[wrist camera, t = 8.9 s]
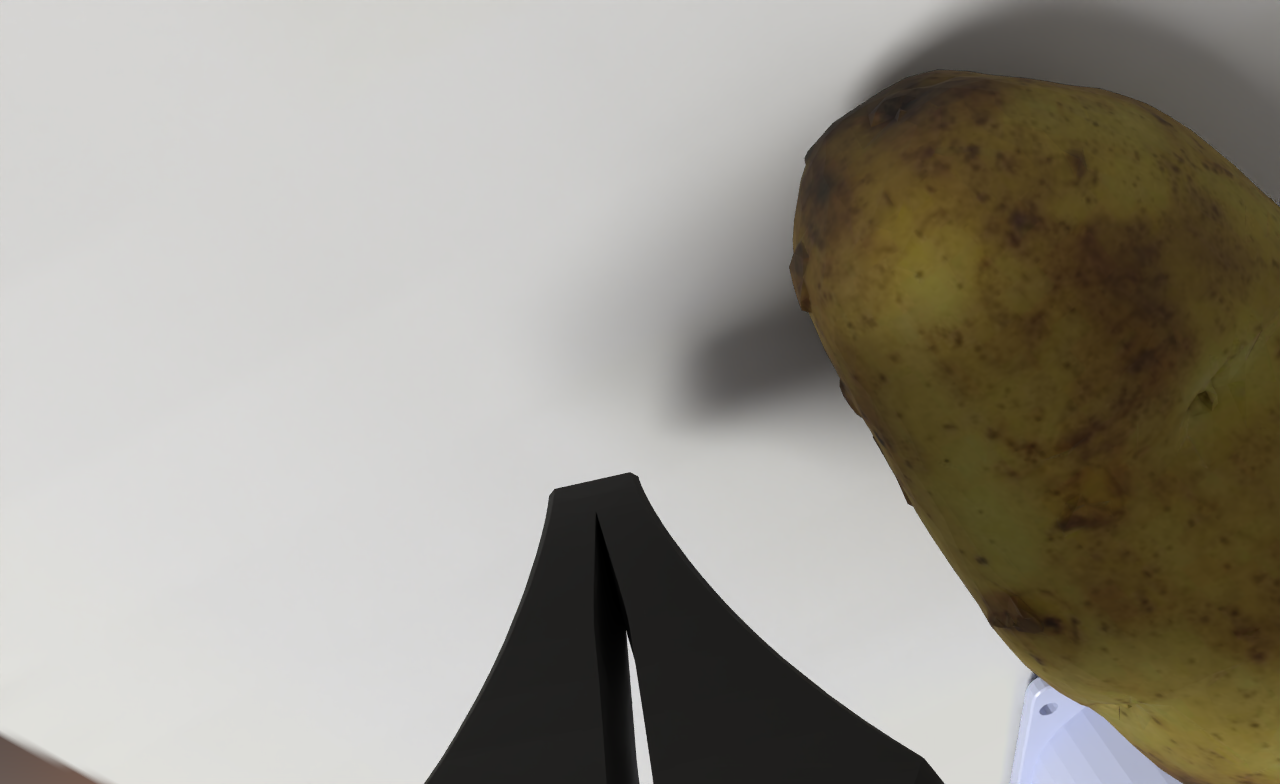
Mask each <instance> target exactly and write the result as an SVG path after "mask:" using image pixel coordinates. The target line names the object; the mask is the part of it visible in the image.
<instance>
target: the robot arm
mask: <svg viewBox="0 0 1280 784" xmlns="http://www.w3.org/2000/svg"><path fill="white" fill-rule="evenodd" d="M626 631H627V635H628V638H629V642H630V645H631V649H632V652H633V656H634V659H635V664H636V670H637V676H638V683H639V689H640V696H641V702H642V709H643V715H644V722H645V728H646V735H647V742H648V749H649V756H650V762H651V769H652V776H653V784H944V782H943V781H942V780H941V779H940V777H939V776H938V775H937V774H936V772H935V771H934V770H933V769H932V767H931V766H930V765H929V764H928V763H927V761H926V760H925V759H924V758H923V757H921V756H920V755H918V754H916V753H915V752H913V751H912V750H910V749H908V748H907V747H905V746H903V745H902V744H900V743H899V742H897V741H895V740H894V739H892V738H891V737H889V736H888V735H886V734H885V733H883V732H882V731H880V730H878V729H877V728H875V727H874V726H872V725H871V724H869V723H868V722H866V721H865V720H863V719H862V718H861V717H859V716H858V715H856V714H855V713H854V712H852V711H851V710H849V709H848V708H847V707H845V706H844V705H842V704H841V703H839V702H838V701H837V700H835V699H834V698H832V697H831V696H830V695H828V694H827V693H826V692H825V691H823V690H822V689H821V688H820V687H818V686H817V685H816V684H815V683H813V682H812V681H811V680H810V679H808V678H807V677H806V676H805V675H803V674H802V673H801V672H800V671H798V670H797V669H796V668H795V667H793V666H792V665H791V664H790V663H788V662H787V661H786V660H785V659H784V658H782V657H781V656H780V655H779V654H778V653H777V652H776V651H775V650H773V649H772V648H771V647H770V646H769V645H768V644H767V643H766V642H765V641H764V640H762V639H761V638H760V637H759V636H758V635H757V634H756V633H755V632H754V631H753V630H752V629H751V628H750V627H749V626H748V625H747V624H746V623H745V622H744V621H743V620H742V619H741V618H740V617H739V616H738V615H737V614H736V613H735V612H734V611H733V610H732V609H731V608H730V607H729V606H728V605H727V604H726V603H725V602H724V601H723V600H722V599H721V597H720V596H719V595H718V594H717V593H716V592H715V591H714V590H713V588H712V587H711V586H710V585H709V584H708V583H707V582H706V580H705V579H704V578H703V577H702V576H701V575H700V573H699V572H698V571H697V570H696V568H695V567H694V566H693V565H692V563H691V562H690V561H689V560H688V558H687V557H686V556H685V554H684V553H683V552H682V550H681V549H680V548H679V546H678V545H677V544H676V542H675V541H674V540H673V538H672V537H671V535H670V534H669V533H668V531H667V530H666V528H665V527H664V525H663V524H662V522H661V520H660V519H659V517H658V516H657V514H656V513H655V511H654V509H653V507H652V506H651V504H650V502H649V500H648V498H647V497H646V495H645V493H644V490H643V488H642V486H641V483H640V481H639V477H638V476H636V475H634V474H633V473H631V472H629V473H625V474H620V475H616V476H611V477H607V478H602V479H598V480H593V481H589V482H584V483H580V484H575V485H571V486H566V487H562V488H557V489H554V491H553V492H552V493H551V494H550V496H549V501H548V508H547V513H546V519H545V523H544V528H543V532H542V536H541V539H540V543H539V547H538V550H537V554H536V557H535V560H534V563H533V566H532V569H531V572H530V576H529V579H528V582H527V585H526V588H525V591H524V593H523V596H522V599H521V602H520V604H519V607H518V609H517V612H516V614H515V616H514V619H513V621H512V624H511V626H510V629H509V631H508V634H507V636H506V639H505V641H504V643H503V646H502V648H501V650H500V652H499V654H498V657H497V659H496V661H495V663H494V665H493V667H492V669H491V671H490V673H489V675H488V677H487V679H486V681H485V683H484V685H483V687H482V689H481V691H480V693H479V695H478V697H477V699H476V700H475V702H474V704H473V706H472V707H471V709H470V711H469V713H468V715H467V716H466V718H465V720H464V722H463V723H462V725H461V727H460V729H459V730H458V732H457V734H456V736H455V737H454V739H453V741H452V742H451V744H450V745H449V747H448V749H447V750H446V752H445V754H444V755H443V757H442V758H441V760H440V761H439V763H438V764H437V766H436V767H435V769H434V770H433V772H432V773H431V775H430V776H429V778H428V779H427V780H426V782H425V783H424V784H639V777H638V769H637V760H636V748H635V735H634V723H633V710H632V697H631V685H630V672H629V660H628V648H627V636H626ZM1010 784H1183V783H1181V782H1179V781H1178V780H1176V779H1175V778H1173V777H1172V776H1170V775H1168V774H1167V773H1165V772H1164V771H1162V770H1161V769H1160V768H1158V767H1157V766H1156V765H1155V764H1154V763H1153V762H1152V761H1150V760H1149V759H1148V758H1147V757H1146V756H1145V755H1143V754H1142V753H1141V752H1140V751H1139V750H1138V749H1136V748H1135V747H1134V746H1133V745H1132V744H1131V743H1130V742H1129V741H1128V740H1127V739H1126V738H1125V737H1123V736H1122V735H1121V734H1120V733H1119V732H1118V731H1117V730H1116V729H1115V728H1114V727H1113V726H1112V725H1111V724H1110V723H1109V722H1108V721H1107V720H1106V719H1105V718H1104V717H1102V716H1101V715H1099V714H1098V713H1096V712H1095V711H1093V710H1092V709H1091V708H1089V707H1086V706H1083V705H1080V704H1079V703H1077V702H1075V701H1073V700H1071V699H1070V698H1068V697H1066V696H1064V695H1063V694H1061V693H1059V692H1058V691H1056V690H1055V689H1054V688H1053V687H1051V686H1050V685H1049V684H1047V683H1046V682H1045V681H1044V680H1042V679H1041V678H1040V677H1038V678H1036V679H1035V680H1033V681H1032V682H1031V683H1030V684H1029V685H1028V687H1027V690H1026V694H1025V700H1024V705H1023V711H1022V717H1021V722H1020V728H1019V734H1018V740H1017V745H1016V751H1015V757H1014V763H1013V768H1012V774H1011V780H1010Z"/></svg>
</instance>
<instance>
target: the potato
mask: <svg viewBox="0 0 1280 784" xmlns="http://www.w3.org/2000/svg"><path fill="white" fill-rule="evenodd" d="M805 164H806V166H805V169H804V172H803V175H802V178H801V182H800V188H799V194H798V200H797V206H796V212H795V219H794V231H793V251H794V254H793V257H792V260H791V263H790V266H789V269H790V273H791V277H792V282H793V286H794V289H795V292H796V296H797V299H798V301H799V304H800V307H801V310H802V311H806V312H808V313H809V315H810V317H811V319H812V322H813V324H814V326H815V328H816V331H817V333H818V335H819V338H820V340H821V342H822V345H823V347H824V349H825V351H826V353H827V355H828V357H829V359H830V360H831V362H832V364H833V366H834V368H835V370H836V372H837V374H838V376H839V378H840V388H841V391H842V393H843V396H844V397H845V399H846V401H847V402H848V404H849V405H850V407H851V408H852V409H853V410H854V412H855V413H856V414H857V415H859V416H860V417H862V418H863V419H864V421H865V423H866V424H867V426H868V427H869V429H870V431H871V432H872V434H873V438H874V440H875V442H876V443H877V445H878V447H879V448H880V450H881V452H882V454H883V455H884V457H885V459H886V461H887V462H888V464H889V466H890V468H891V470H892V471H893V473H894V475H895V477H896V478H897V481H898V483H899V485H900V487H901V490H902V492H903V494H904V496H905V499H906V501H907V503H908V504H909V505H911V506H913V507H914V509H915V511H916V512H917V514H918V516H919V517H920V519H921V520H922V522H923V524H924V525H925V527H926V528H927V530H928V532H929V533H930V535H931V536H932V538H933V540H934V541H935V542H936V544H937V545H938V547H939V548H940V550H941V551H942V553H943V554H944V556H945V557H946V559H947V560H948V562H949V563H950V565H951V566H952V568H953V569H954V571H955V572H956V573H957V575H958V576H959V578H960V579H961V581H962V582H963V583H964V585H965V586H966V588H967V589H968V590H969V592H970V593H971V595H972V596H973V598H974V599H975V600H976V602H977V603H978V605H979V606H980V608H981V610H982V612H983V613H984V615H985V617H986V618H987V620H988V622H989V624H990V625H991V627H992V628H993V629H994V630H995V631H996V633H997V634H998V635H999V636H1000V637H1001V638H1002V640H1003V641H1004V642H1005V643H1006V644H1007V646H1008V647H1009V648H1010V649H1011V650H1012V651H1013V652H1014V653H1015V655H1016V656H1017V657H1018V658H1019V659H1020V660H1021V661H1022V662H1023V663H1024V665H1025V666H1027V667H1028V668H1029V669H1030V670H1031V671H1033V672H1034V673H1035V674H1036V675H1037V676H1039V677H1040V678H1041V679H1042V680H1044V681H1045V682H1046V683H1047V684H1049V685H1050V686H1051V687H1053V688H1054V689H1055V690H1056V691H1058V692H1059V693H1061V694H1063V695H1064V696H1066V697H1068V698H1070V699H1071V700H1073V701H1075V702H1077V703H1079V704H1080V705H1083V706H1086V707H1089V708H1091V709H1092V710H1093V711H1095V712H1096V713H1098V714H1099V715H1101V716H1102V717H1104V718H1105V719H1106V720H1107V721H1108V722H1109V723H1110V724H1111V725H1112V726H1113V727H1114V728H1115V729H1116V730H1117V731H1118V732H1119V733H1120V734H1121V735H1122V736H1123V737H1125V738H1126V739H1127V740H1128V741H1129V742H1130V743H1131V744H1132V745H1133V746H1134V747H1135V748H1136V749H1138V750H1139V751H1140V752H1141V753H1142V754H1143V755H1145V756H1146V757H1147V758H1148V759H1149V760H1150V761H1152V762H1153V763H1154V764H1155V765H1156V766H1157V767H1158V768H1160V769H1161V770H1162V771H1164V772H1165V773H1167V774H1168V775H1170V776H1172V777H1173V778H1175V779H1176V780H1178V781H1179V782H1181V783H1183V784H1280V207H1279V206H1278V205H1277V204H1275V203H1274V201H1273V200H1272V199H1271V198H1269V197H1267V196H1266V195H1265V194H1264V193H1263V192H1262V191H1261V190H1260V189H1259V188H1258V187H1256V186H1255V185H1254V184H1253V183H1252V182H1251V181H1250V180H1249V179H1248V178H1247V177H1246V176H1245V175H1244V174H1243V173H1242V172H1241V171H1240V170H1239V169H1237V168H1236V167H1235V166H1234V165H1233V164H1232V163H1231V162H1229V161H1228V160H1227V159H1226V158H1225V157H1223V156H1222V155H1221V154H1220V153H1219V152H1217V151H1216V150H1215V149H1214V148H1212V147H1211V146H1210V145H1209V144H1208V143H1206V142H1205V141H1204V140H1203V139H1201V138H1200V137H1199V136H1198V135H1197V134H1195V133H1194V132H1193V131H1191V130H1190V129H1188V128H1187V127H1185V126H1184V125H1182V124H1181V123H1179V122H1177V121H1176V120H1174V119H1173V118H1171V117H1170V116H1168V115H1166V114H1164V113H1163V112H1161V111H1159V110H1157V109H1155V108H1154V107H1152V106H1150V105H1148V104H1146V103H1143V102H1140V101H1138V100H1135V99H1132V98H1129V97H1126V96H1123V95H1120V94H1117V93H1113V92H1110V91H1107V90H1103V89H1100V88H1091V87H1081V86H1071V85H1064V84H1059V83H1053V82H1048V81H1042V80H1035V79H1028V78H1019V77H1008V76H997V75H987V74H982V73H976V72H971V71H955V70H934V71H930V72H926V73H922V74H918V75H914V76H910V77H906V78H905V79H903V80H901V81H899V82H898V83H896V84H894V85H892V86H890V87H889V88H887V89H885V90H883V91H881V92H880V93H878V94H876V95H875V96H873V97H872V98H870V99H869V100H867V101H866V102H864V103H862V104H861V105H859V106H858V107H856V108H855V109H853V110H852V111H850V112H848V113H847V114H846V115H844V116H843V117H841V118H840V119H838V120H837V121H835V122H834V123H833V124H832V125H831V126H830V127H829V128H828V129H827V130H826V131H825V133H824V134H823V135H822V136H821V137H820V138H819V139H818V141H817V142H816V143H815V144H814V145H813V146H812V147H811V148H810V150H809V151H808V152H807V154H806V156H805Z"/></svg>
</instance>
